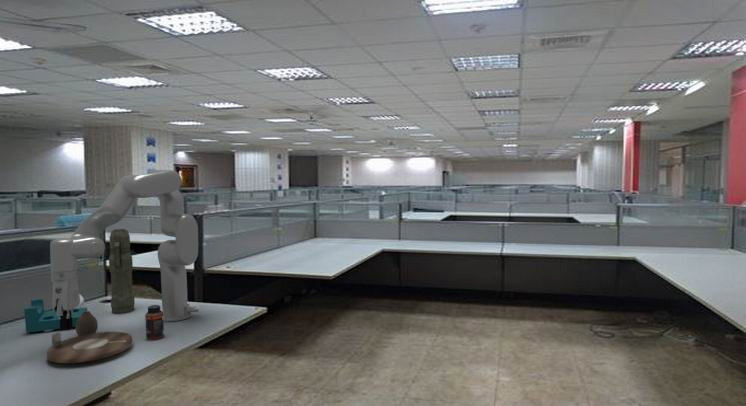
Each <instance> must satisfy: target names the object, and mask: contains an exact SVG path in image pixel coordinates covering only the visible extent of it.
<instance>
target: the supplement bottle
mask: <svg viewBox="0 0 746 406" xmlns="http://www.w3.org/2000/svg"><path fill="white" fill-rule="evenodd" d="M144 317H145V318H144V320H145V335H146V336H145V337H146V339H147V340H149V341H154V340H160V339H162V338H164V337H165V321H164V315H163V312H162V309H161V305H160V304H151V305H150V306H148V307H147V312H146V314H145V315H144Z"/></svg>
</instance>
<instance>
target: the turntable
mask: <svg viewBox="0 0 746 406" xmlns="http://www.w3.org/2000/svg"><path fill="white" fill-rule="evenodd" d="M61 336H62V335H61V333H58V332H57V333H53V334H51V346H49V347H48V348H47V349H46V353H45V354H46V355H45V356H46V359H47V360H48V361H49V362H52V363H58V364H76V363H77V364H78V363H85V362H92V361H96V360H100V359H101V360H102V359H104V358H109V357H111V356H114V355H117V354H119V353H122V352H123V351H125V350H127V349H128V348H130V347H131V346H132V344H133V336H132V335H131V334H129V333H126V332H121V331H101V332H96V333H92V334H86V335H81V336H78V335H77V336H73V337H69V338H67V339H64V340H62V338H61Z"/></svg>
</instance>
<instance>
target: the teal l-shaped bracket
mask: <svg viewBox="0 0 746 406" xmlns="http://www.w3.org/2000/svg"><path fill="white" fill-rule="evenodd" d="M44 304H45V303H44V298H33V299H31V300H30V307H25V308H24V309H23V310H24V311H23V312H24V320H25V321H24V322H25V333H26V334H28V333H35V332H42V331H50V330H60V319H59V316H57V312H55V311H53V310H49V311H47V310H46V311H45V305H44ZM85 311H88V307H86V306H85V307H82V308H75V309H73V316H72V324H73V328H75V326H76V322H77V320H78V319H79V317H80V316H81V314H82V312H85Z"/></svg>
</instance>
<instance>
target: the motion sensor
mask: <svg viewBox="0 0 746 406" xmlns="http://www.w3.org/2000/svg"><path fill="white" fill-rule="evenodd" d="M79 296H80V304H79V305H78V306H77V307H75V308H84V303H85V298H84V297H83V296H82V295H81V294H80V293H79ZM75 308H74V309H75Z"/></svg>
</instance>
